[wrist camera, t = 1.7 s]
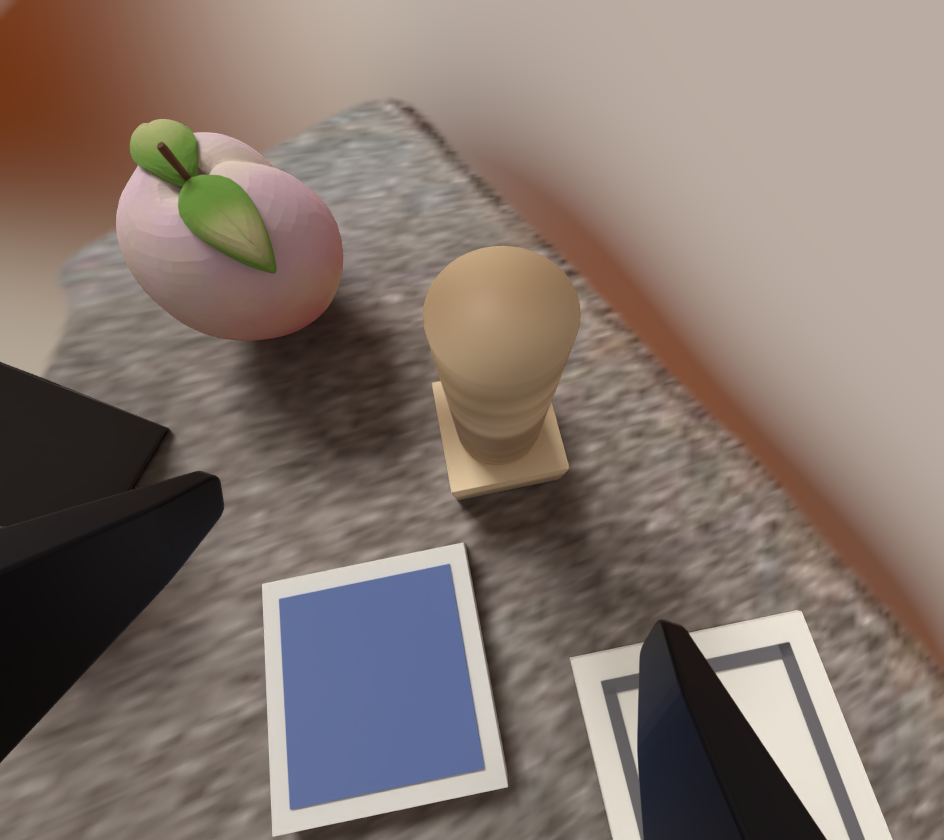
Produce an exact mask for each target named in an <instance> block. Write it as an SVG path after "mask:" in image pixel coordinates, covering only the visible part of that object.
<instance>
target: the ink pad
mask: <svg viewBox="0 0 944 840" xmlns="http://www.w3.org/2000/svg"><path fill="white" fill-rule="evenodd" d="M262 594H263V618H264V642H265V666H266V690H267V714H268V738H269V762H270V786H271V810H272V835H273V836H278V835H283V834H288V833H292V832H297V831H302V830H307V829H311V828H316V827H321V826H326V825H330V824H335V823H340V822H345V821H349V820H354V819H359V818H363V817H368V816H373V815H378V814H382V813H387V812H392V811H397V810H401V809H406V808H411V807H416V806H420V805H425V804H430V803H435V802H439V801H444V800H449V799H454V798H458V797H463V796H468V795H473V794H477V793H482V792H487V791H492V790H496V789H501V788H506V787H508V777H507V767H506V762H505V756H504V751H503V746H502V740H501V735H500V729H499V724H498V718H497V713H496V707H495V702H494V697H493V691H492V686H491V680H490V675H489V669H488V664H487V659H486V653H485V648H484V642H483V637H482V631H481V626H480V620H479V615H478V610H477V604H476V599H475V593H474V588H473V582H472V577H471V571H470V566H469V561H468V555H467V550H466V544H465V543H459V544H454V545H449V546H444V547H439V548H435V549H430V550H425V551H420V552H415V553H410V554H405V555H401V556H396V557H391V558H386V559H381V560H376V561H371V562H367V563H362V564H357V565H352V566H347V567H342V568H337V569H333V570H328V571H323V572H318V573H313V574H308V575H303V576H299V577H294V578H289V579H284V580H279V581H274V582H269V583H264V584H262Z"/></svg>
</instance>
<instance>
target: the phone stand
mask: <svg viewBox="0 0 944 840" xmlns="http://www.w3.org/2000/svg"><path fill="white" fill-rule="evenodd" d="M167 430H168V428H167V427H164V426H162V425H159V424H157V423H154V422H152V421H149V420H147V419H144V418H142V417H139V416H137V415H134V414H132V413H129V412H127V411H124V410H122V409H119V408H117V407H114V406H112V405H109V404H107V403H104V402H101V401H99V400H97V399H94V398H92V397H89V396H87V395H84V394H81V393H79V392H76V391H74V390H71V389H69V388H66V387H64V386H61V385H59V384H56V383H54V382H51V381H49V380H46V379H44V378H41V377H39V376H36V375H34V374H31V373H28V372H26V371H23V370H20V369H18V368H15V367H12V366H10V365H7V364H4V363H2V362H0V526H11V525H14V524H17V523H21V522H24V521H28V520H31V519H35V518H38V517H41V516H45V515H48V514H52V513H55V512H59V511H62V510H65V509H69V508H72V507H76V506H79V505H83V504H86V503H89V502H93V501H96V500H100V499H103V498H106V497H110V496H113V495H117V494H120V493H124V492H127V491H130V490H132V488H133V486H134V485H135V483H136V481H137V480H138V478H139V476H140V475H141V473H142V471H143V470H144V468H145V466H146V465H147V463H148V461H149V460H150V458H151V456H152V455H153V453H154V451H155V450H156V448H157V446H158V445H159V443H160V441H161V440H162V438H163V436H164V435H165V433H166V431H167Z"/></svg>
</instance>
